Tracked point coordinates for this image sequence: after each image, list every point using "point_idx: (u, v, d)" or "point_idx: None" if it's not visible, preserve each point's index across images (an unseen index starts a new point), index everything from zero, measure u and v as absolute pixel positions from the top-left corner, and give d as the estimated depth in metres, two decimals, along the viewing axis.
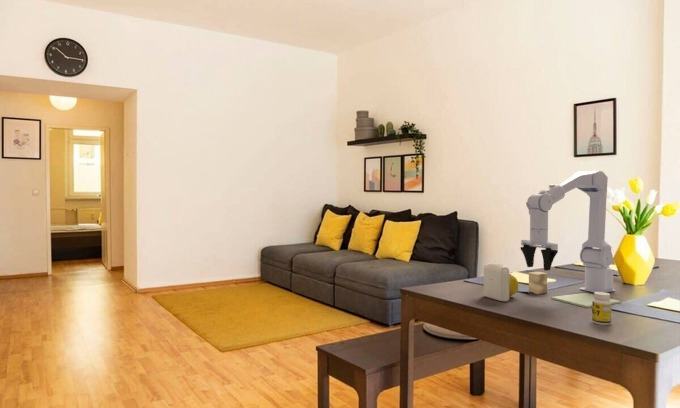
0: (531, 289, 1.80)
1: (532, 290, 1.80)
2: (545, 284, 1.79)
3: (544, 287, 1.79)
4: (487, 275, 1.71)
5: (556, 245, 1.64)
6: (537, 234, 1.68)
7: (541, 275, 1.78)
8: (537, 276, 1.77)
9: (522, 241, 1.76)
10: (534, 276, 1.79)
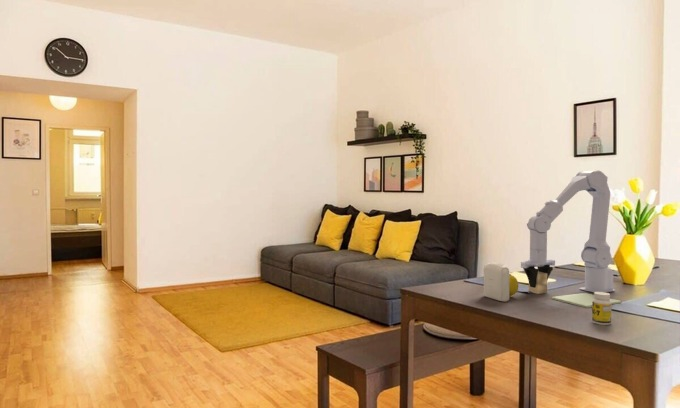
0: (531, 289, 1.80)
1: (532, 290, 1.80)
2: (545, 284, 1.79)
3: (544, 287, 1.79)
4: (487, 275, 1.71)
5: (523, 264, 1.77)
6: None
7: (541, 275, 1.78)
8: (537, 276, 1.77)
9: None
10: None
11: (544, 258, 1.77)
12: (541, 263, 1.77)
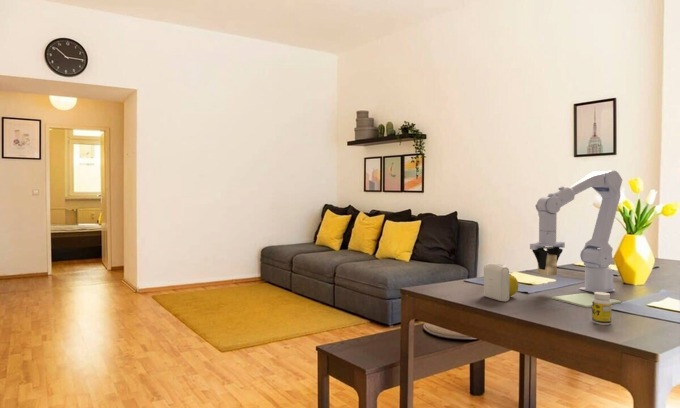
0: (540, 271, 1.77)
1: (541, 272, 1.77)
2: (555, 266, 1.76)
3: (554, 269, 1.76)
4: (487, 275, 1.71)
5: (532, 245, 1.74)
6: None
7: (550, 257, 1.75)
8: (546, 258, 1.74)
9: None
10: None
11: (554, 239, 1.74)
12: (551, 244, 1.74)
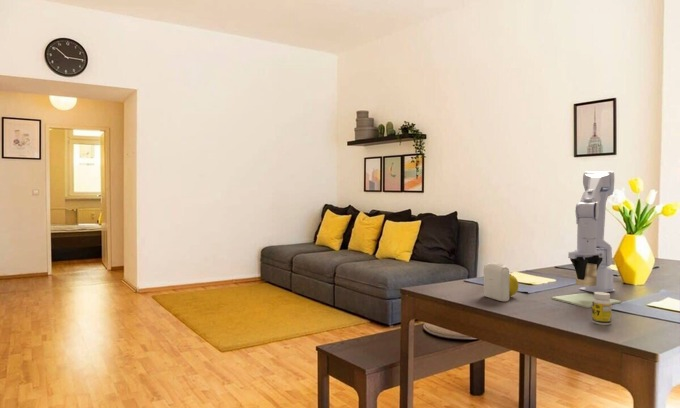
0: (579, 281, 1.66)
1: (580, 282, 1.65)
2: (594, 276, 1.65)
3: (594, 279, 1.65)
4: (487, 275, 1.71)
5: (571, 254, 1.62)
6: (577, 242, 1.67)
7: (590, 266, 1.64)
8: (586, 268, 1.63)
9: None
10: None
11: (594, 248, 1.63)
12: (591, 253, 1.63)
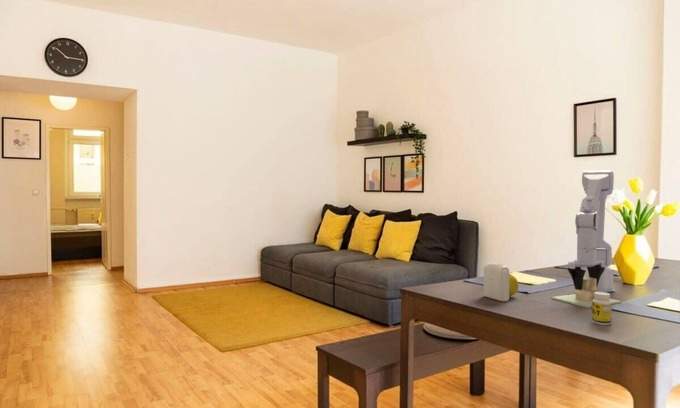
0: (579, 296, 1.66)
1: (580, 297, 1.66)
2: (594, 290, 1.65)
3: None
4: (487, 275, 1.71)
5: (571, 264, 1.63)
6: (577, 252, 1.67)
7: (590, 280, 1.64)
8: (586, 282, 1.63)
9: None
10: None
11: (594, 258, 1.63)
12: (590, 263, 1.63)
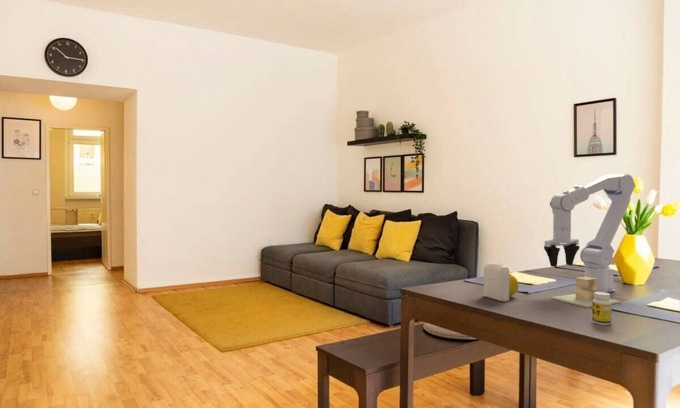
0: (579, 296, 1.66)
1: (580, 297, 1.66)
2: (594, 290, 1.65)
3: None
4: (487, 275, 1.71)
5: (547, 242, 1.74)
6: (553, 232, 1.79)
7: (590, 280, 1.64)
8: (586, 282, 1.63)
9: None
10: (582, 281, 1.65)
11: (568, 237, 1.75)
12: (565, 242, 1.74)
